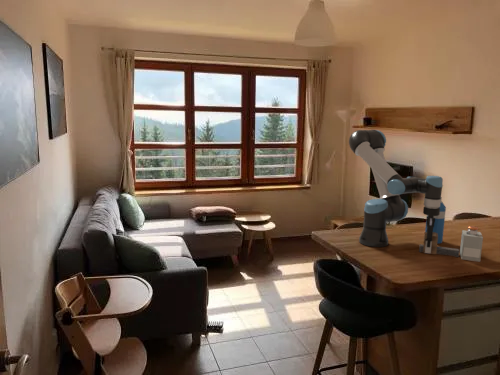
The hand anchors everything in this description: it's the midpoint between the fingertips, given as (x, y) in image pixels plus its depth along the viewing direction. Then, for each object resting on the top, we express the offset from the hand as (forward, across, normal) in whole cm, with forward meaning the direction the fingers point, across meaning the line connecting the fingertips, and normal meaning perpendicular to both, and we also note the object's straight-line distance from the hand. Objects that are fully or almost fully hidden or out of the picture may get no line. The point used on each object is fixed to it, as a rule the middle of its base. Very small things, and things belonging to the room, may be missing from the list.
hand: (427, 250), depth 204 cm
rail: (+1, 0, -5) cm, 5 cm away
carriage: (+1, 0, -1) cm, 1 cm away
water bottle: (+1, +21, -3) cm, 21 cm away
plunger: (-9, 0, -19) cm, 21 cm away
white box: (+1, 0, -19) cm, 19 cm away
